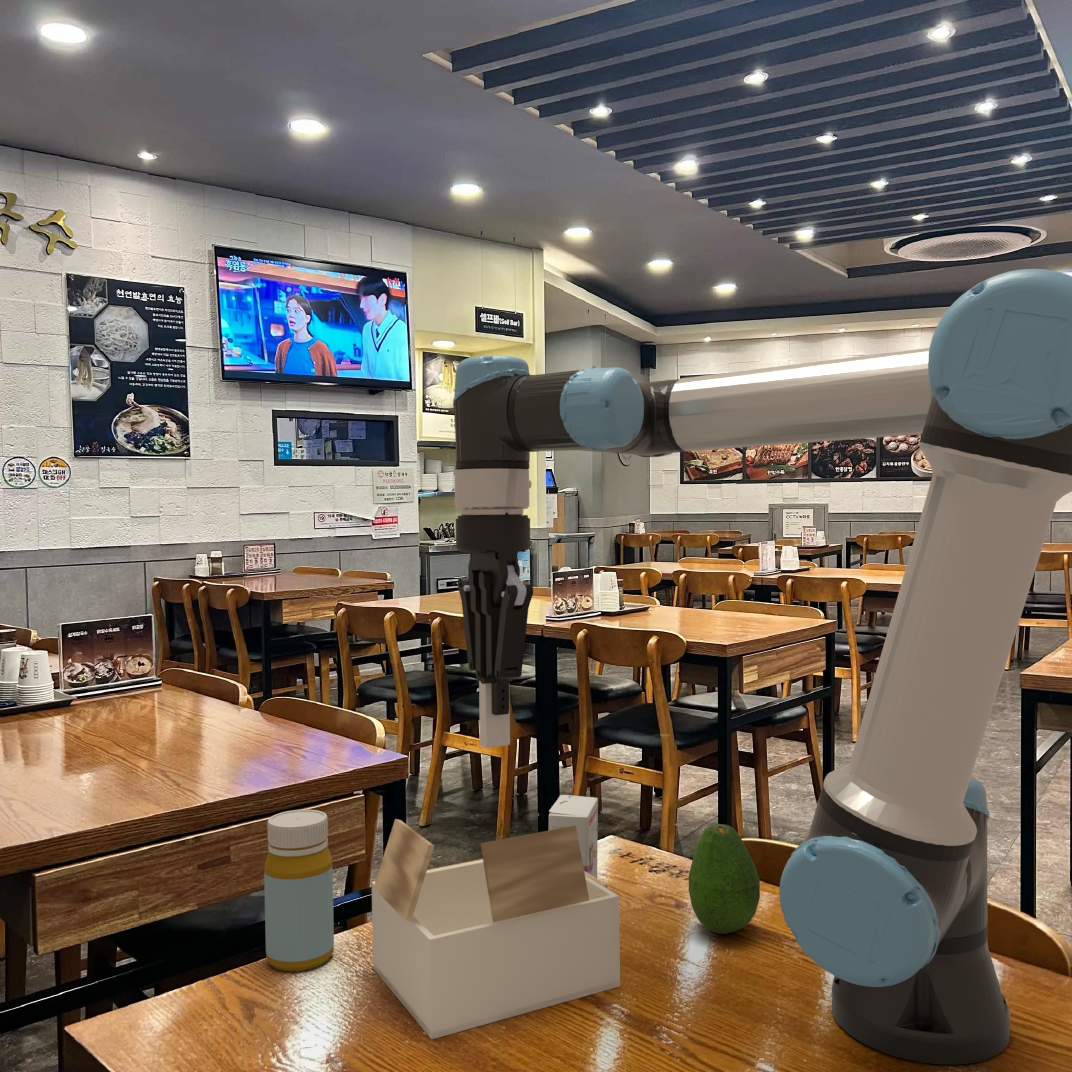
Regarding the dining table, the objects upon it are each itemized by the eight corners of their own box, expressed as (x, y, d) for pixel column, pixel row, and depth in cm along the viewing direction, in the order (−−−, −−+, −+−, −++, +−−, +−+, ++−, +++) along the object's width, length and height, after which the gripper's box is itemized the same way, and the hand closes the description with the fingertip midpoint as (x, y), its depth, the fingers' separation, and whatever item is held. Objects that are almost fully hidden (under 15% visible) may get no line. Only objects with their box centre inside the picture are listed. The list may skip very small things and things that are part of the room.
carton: (627, 984, 98) (626, 894, 98) (431, 1039, 88) (429, 939, 88) (545, 923, 113) (544, 845, 113) (370, 964, 103) (369, 879, 103)
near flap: (589, 900, 95) (575, 825, 97) (495, 922, 90) (482, 842, 92) (586, 900, 95) (572, 826, 97) (492, 922, 91) (480, 843, 93)
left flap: (411, 921, 91) (434, 845, 92) (405, 920, 91) (428, 844, 92) (378, 889, 99) (400, 820, 100) (373, 888, 99) (395, 818, 100)
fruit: (674, 933, 110) (673, 825, 110) (713, 911, 116) (712, 809, 115) (736, 954, 105) (735, 841, 104) (774, 930, 110) (773, 823, 110)
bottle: (274, 979, 100) (271, 832, 100) (259, 953, 106) (257, 814, 106) (342, 964, 103) (339, 821, 103) (323, 939, 110) (321, 804, 109)
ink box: (589, 916, 115) (588, 815, 115) (547, 913, 116) (545, 813, 116) (599, 888, 123) (598, 794, 123) (559, 886, 124) (558, 792, 124)
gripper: (556, 512, 96) (558, 754, 97) (498, 512, 107) (499, 728, 108) (486, 513, 92) (489, 763, 93) (433, 512, 104) (436, 736, 105)
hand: (494, 744), depth 101 cm, fingers closed
